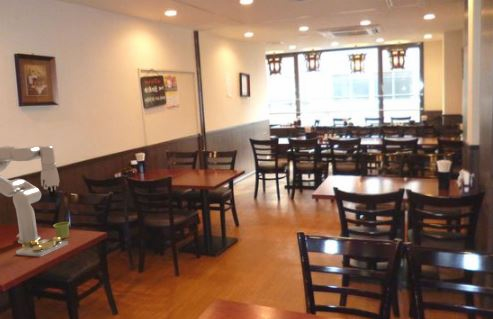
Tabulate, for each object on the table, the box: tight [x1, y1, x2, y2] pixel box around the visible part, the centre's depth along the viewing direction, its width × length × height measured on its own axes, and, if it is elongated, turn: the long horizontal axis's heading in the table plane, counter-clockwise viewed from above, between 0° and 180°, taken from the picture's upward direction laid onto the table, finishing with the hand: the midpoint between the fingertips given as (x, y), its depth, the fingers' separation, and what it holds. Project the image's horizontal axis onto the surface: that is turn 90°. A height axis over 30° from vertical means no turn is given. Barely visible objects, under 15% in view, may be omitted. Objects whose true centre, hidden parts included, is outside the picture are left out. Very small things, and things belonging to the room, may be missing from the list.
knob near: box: [21, 240, 39, 249], centre depth 250 cm, size 10×4×3 cm, turn 159°
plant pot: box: [52, 221, 71, 240], centre depth 270 cm, size 9×9×9 cm
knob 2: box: [50, 236, 62, 246], centre depth 252 cm, size 10×4×3 cm, turn 6°
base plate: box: [15, 238, 69, 258], centre depth 250 cm, size 18×20×4 cm
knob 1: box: [33, 239, 52, 251], centre depth 244 cm, size 10×4×3 cm, turn 135°
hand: (52, 197), depth 260 cm, fingers closed
